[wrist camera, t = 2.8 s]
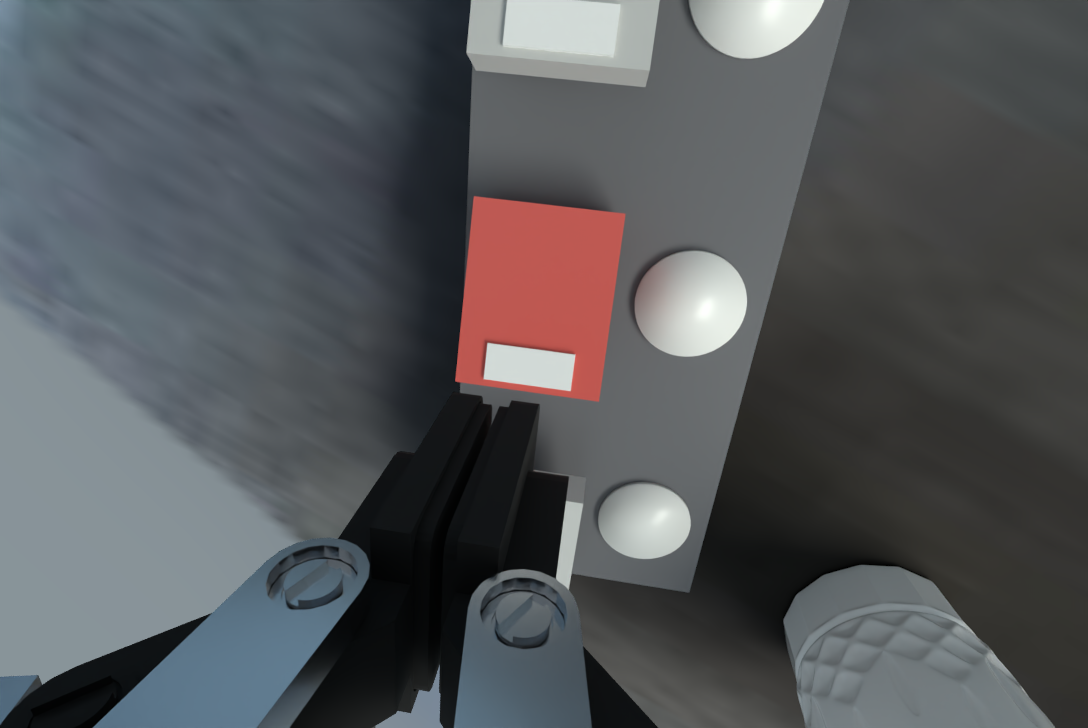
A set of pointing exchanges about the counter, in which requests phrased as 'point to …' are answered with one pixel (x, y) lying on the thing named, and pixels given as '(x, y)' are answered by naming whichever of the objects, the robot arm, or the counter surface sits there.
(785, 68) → the power strip
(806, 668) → the white cup
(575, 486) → the rocker outlet
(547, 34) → the outlet rocker
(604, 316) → the outlet rocker
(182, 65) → the counter surface
